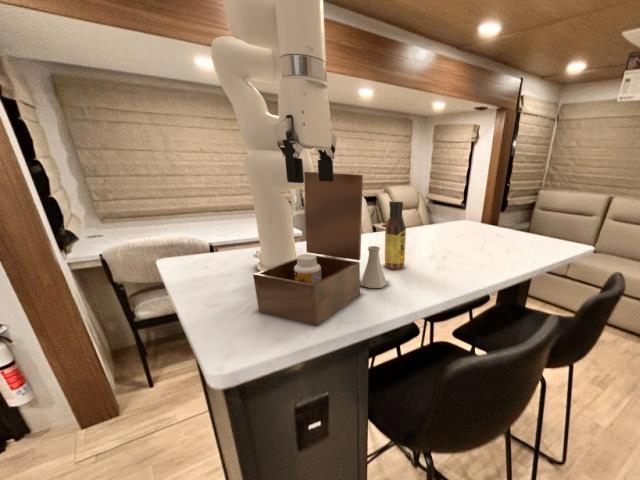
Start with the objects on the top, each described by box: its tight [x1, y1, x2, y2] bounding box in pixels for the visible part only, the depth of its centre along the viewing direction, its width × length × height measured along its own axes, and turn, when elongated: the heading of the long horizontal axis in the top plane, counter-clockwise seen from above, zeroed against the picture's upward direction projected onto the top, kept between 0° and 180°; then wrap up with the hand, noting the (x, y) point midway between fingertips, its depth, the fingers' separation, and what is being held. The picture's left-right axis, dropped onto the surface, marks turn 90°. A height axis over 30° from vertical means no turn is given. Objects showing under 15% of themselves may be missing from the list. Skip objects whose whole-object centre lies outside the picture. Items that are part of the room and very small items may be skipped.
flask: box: [360, 245, 388, 289], centre depth 80 cm, size 7×7×10 cm
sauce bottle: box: [384, 200, 407, 270], centre depth 93 cm, size 6×6×20 cm
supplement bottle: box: [294, 253, 322, 284], centre depth 67 cm, size 6×6×10 cm
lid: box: [304, 171, 364, 261], centre depth 73 cm, size 18×15×5 cm
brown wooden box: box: [252, 254, 361, 326], centre depth 68 cm, size 18×15×8 cm
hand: (312, 181), depth 60 cm, fingers open, 9 cm apart
